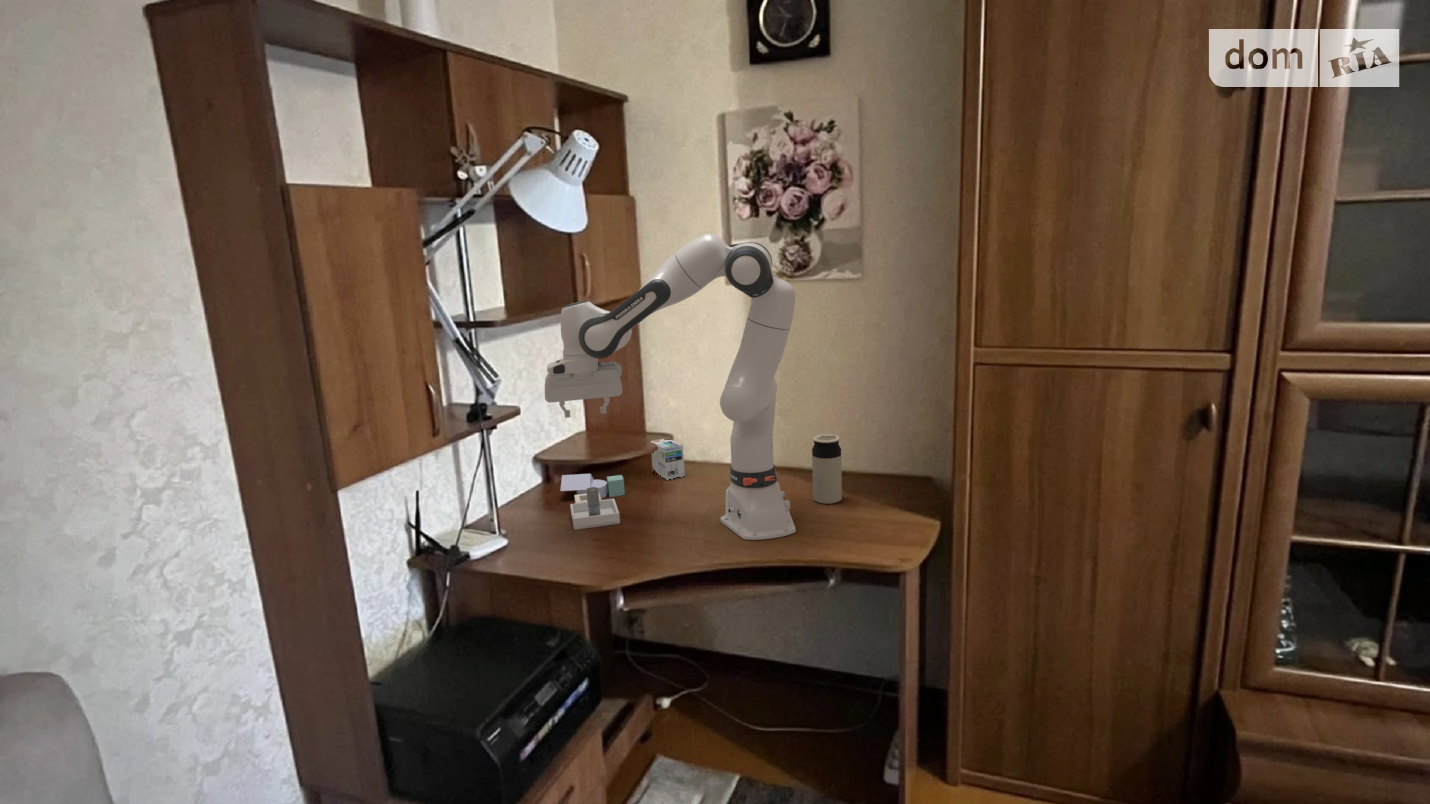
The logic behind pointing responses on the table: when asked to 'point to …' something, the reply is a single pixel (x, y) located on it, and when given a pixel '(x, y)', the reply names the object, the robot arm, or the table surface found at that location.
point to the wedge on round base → (583, 484)
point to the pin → (593, 501)
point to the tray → (606, 518)
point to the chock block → (615, 486)
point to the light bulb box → (668, 459)
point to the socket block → (582, 498)
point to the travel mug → (827, 469)
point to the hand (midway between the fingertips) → (585, 415)
